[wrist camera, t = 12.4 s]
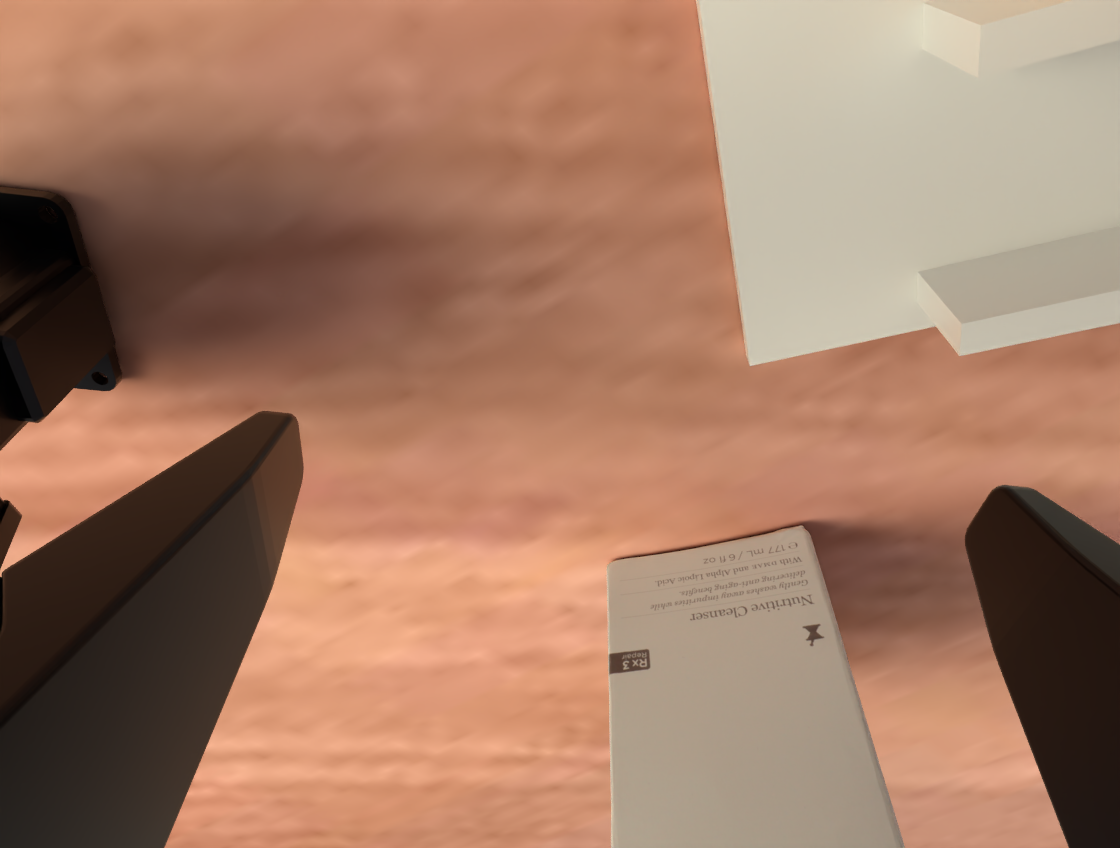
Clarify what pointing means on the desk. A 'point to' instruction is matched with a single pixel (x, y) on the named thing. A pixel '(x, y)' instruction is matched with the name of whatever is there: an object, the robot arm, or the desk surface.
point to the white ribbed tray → (917, 168)
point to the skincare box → (737, 704)
